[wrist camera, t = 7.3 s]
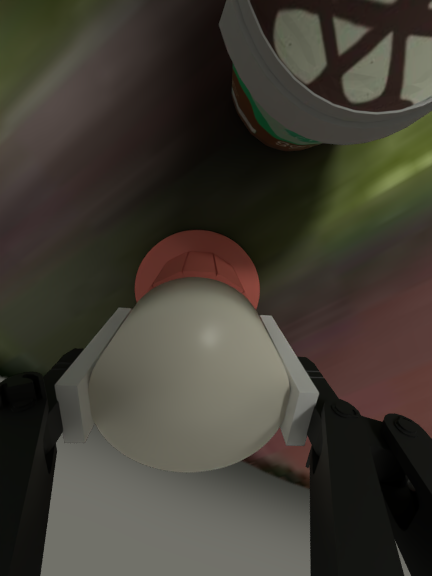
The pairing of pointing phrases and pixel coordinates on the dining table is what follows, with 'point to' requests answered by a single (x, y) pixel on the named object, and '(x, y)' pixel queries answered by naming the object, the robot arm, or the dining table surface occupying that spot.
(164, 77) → the dining table surface
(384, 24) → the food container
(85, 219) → the dining table surface
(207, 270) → the red flanged cylinder
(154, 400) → the grey rounded piece
